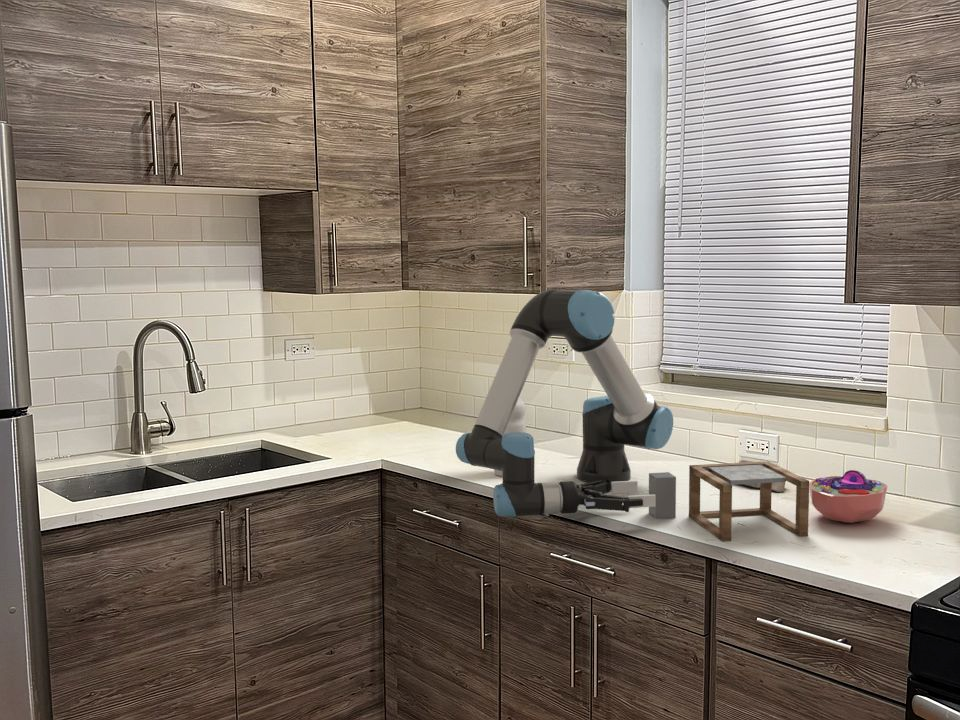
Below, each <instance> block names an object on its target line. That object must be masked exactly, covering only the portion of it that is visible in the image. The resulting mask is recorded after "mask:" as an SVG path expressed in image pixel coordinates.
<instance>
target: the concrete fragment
mask: <svg viewBox="0 0 960 720" xmlns="http://www.w3.org/2000/svg"><path fill="white" fill-rule="evenodd" d="M745 462H752V460H751V461H750V460H746V459H745V460H744V459H742V460H739V461H738V462H737V463H745ZM743 485H744V486H747V487H752V488H755V489H760V483H755V484H743ZM785 487H786V482H774V483H772V491H773V492H778V493H782V492H784V489H785Z"/></svg>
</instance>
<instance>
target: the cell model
mask: <svg viewBox="0 0 960 720" xmlns="http://www.w3.org/2000/svg"><path fill="white" fill-rule="evenodd" d="M887 490H888V485H887V484H886V483H885V482H881V481H879V480H875V479H870V478H869V479H868V478H867V477H866V475H865V474H864V473H862V472H860V471H859V470H855V469H850V470H847V471H845V472H844V474H843V475H842V476H838V475H834V476H832V475H831V476H826V477H825V476H824V477H818V478H814V479H813V480H811V481H809V496H810V499H811V504H812V506H813V508H815V510H816V511H817V512H819V513H820V514H821V515H822V516H823V517H825V518H827V519H829V520H831V521H837V522H842V523H846V524H847V523H848V524H854V523H857V522H864V521H868V520H871V519H874V518H876V517H877V515H878V514H880V513H881V512H882V511H883V509H884V506H885V503H886V502H885V500H886V495H887Z"/></svg>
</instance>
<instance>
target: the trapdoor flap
mask: <svg viewBox="0 0 960 720" xmlns="http://www.w3.org/2000/svg"><path fill="white" fill-rule="evenodd" d="M705 470H707V471H709V472H710V473H712V474H714V475H716V476H717V477H719V478H721V479H723V480H724V481H726V482H728V483H729V484H731V485H732V486H734V485H736V486H737V485H744V484H755V483H774V482H785V483H786V482H787V481H786V477H784V476H782V475H780V474H778V473H776V472H774V471H772V470H770V469H768V468H766V467H764V465H744V466H724V467H705Z"/></svg>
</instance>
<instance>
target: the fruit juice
mask: <svg viewBox="0 0 960 720" xmlns="http://www.w3.org/2000/svg"><path fill="white" fill-rule="evenodd" d="M525 414H526V403H525V402H524V400H523V399H522V398H521V395H520V396H519V398H518V401H517V403H516V405H515V408H514V410H513V413H512V415H511V417H510V420H509V422H508V424H507V427H506V429H505V432H504V434H506V433H512V432H519V433H522V432H523V433H527V424H526V421H525ZM504 434H503V435H504ZM502 437H503V436H502ZM493 471H494V474H495V475H497V476H499V477H502V471H499V470H494V469H493Z"/></svg>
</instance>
